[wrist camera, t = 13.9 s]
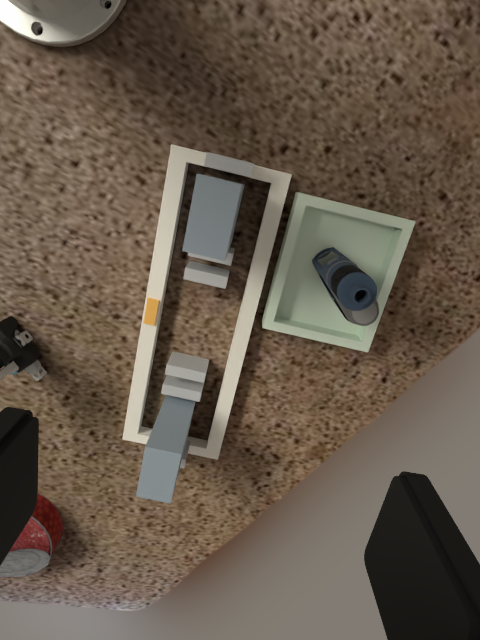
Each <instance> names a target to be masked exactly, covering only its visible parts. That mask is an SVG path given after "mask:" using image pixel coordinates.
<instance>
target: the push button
mask: <svg viewBox="0 0 480 640" xmlns="http://www.w3.org/2000/svg"><path fill="white" fill-rule="evenodd" d="M17 325H18V322H17V321H16V320H15V318H14V317H12V316H10V317H8V318H6V319H4V320H2V321H1V322H0V368H2V367H3V366H4V365H5V367H4V368H3V369H1V370H0V380H1V379H2V378H3V377H5V376H6V375H7V374H8V373H9V374H12V375H16V374H17V373H19V372H21V371H22V370H25V371H26V372H27V373H29V374H30V375H31V376H32V377H33V378H34V379H35V380H36V381H38V380H40V379H41V378H42V376H44V375H45V374H47V372H46V371H45V370H44V368H43V367H42V366H41V365H40V364H41V363H40V362H39V360H38V358H39V357H40V353H39V352H38V351H37V350H36V349H35V347H34V346H33V345H32V344H31V343H30V341H31V340H33V337H32V336H31V335H30V334H29V332H28V331H26V330H25V331H24V332H21V331H20V330H19V328H18V327H17ZM25 334H26V335H28V337H29V339H27V338H26V337H25ZM40 369H41V370H42V371H43V373H40V372H39V370H40ZM34 374H38V377H35V376H34Z"/></svg>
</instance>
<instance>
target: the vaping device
mask: <svg viewBox="0 0 480 640" xmlns="http://www.w3.org/2000/svg"><path fill="white" fill-rule="evenodd" d="M312 263H313V265H314V267H315V269H316V271H317V272H318V274H319V276H320V278H321V280H322V282H323V284H324V286H325V287H326V289H327V291H328V293H329V295H330V297H331V299H332V300H333V301H334V303H335V304H336V306H337V307H338V309H339V310H340V312H341V313H342V314H343V316H344V317H345V319H346V320H347V321H349V322H351V323H353V324H357V325H359V326H367V325H370V324H372V323H373V322H375V321H376V319H377V318H378V315H379V305H378V302H377V300H376V296H377V286H376V283H375V282H374V280H373V279H372V278H371V277H370V276H368V275H367V274H366V273H365V272H363V271H362V270H361V269H360V268H358V266H357V265H356V264H355V263H354V262H352V261H351V260H350V259H349V258H347V257H346V256H344V255H343V254H342V253H341V252H339V251H338V250H337V249H335V248H334V247H332V248H327V249H324V250H322V251H320V252H319V253H318V254H317V255H316V256H315V257H314V259H312ZM332 297H333V298H332Z"/></svg>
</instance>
